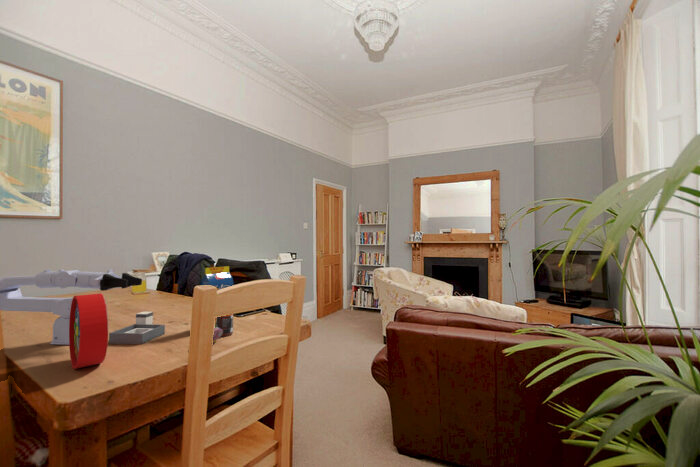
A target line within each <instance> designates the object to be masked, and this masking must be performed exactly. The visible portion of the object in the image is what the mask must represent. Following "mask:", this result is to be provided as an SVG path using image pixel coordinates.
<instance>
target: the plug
mask: <svg viewBox="0 0 700 467" xmlns="http://www.w3.org/2000/svg"><path fill="white" fill-rule="evenodd" d="M153 320H154V312H153V311H141V312H137V313H136V314H135V324H153Z"/></svg>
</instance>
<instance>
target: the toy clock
mask: <svg viewBox="0 0 700 467" xmlns="http://www.w3.org/2000/svg"><path fill="white" fill-rule="evenodd" d="M72 297H73V299H72V303H71V309H70V320H69V345H68V346H69V347H68V348H69V357H70V363H71V366H72V369H73V370H76V369H81V368H85V367H90V366H95V365H98V364H102V363H103V362H104V361H105V358H106V356H107V351H108V344H109V317H108V316H109V315H108V307H107V302H106V299H105V298H106V297H105V296H104V294H103V293H101V292H100V293H91V294H80V295H74V296H72Z"/></svg>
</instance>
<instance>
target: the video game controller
mask: <svg viewBox="0 0 700 467" xmlns="http://www.w3.org/2000/svg"><path fill="white" fill-rule="evenodd" d="M222 333H223V330H222V329H221V328H218V327H216V328H214V335H213V344H215V343H216V342H217V341H218V339H219V338H220V337H222V336H221V335H222ZM213 344H212V345H213Z"/></svg>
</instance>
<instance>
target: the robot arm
mask: <svg viewBox="0 0 700 467" xmlns="http://www.w3.org/2000/svg"><path fill="white" fill-rule="evenodd" d="M142 283H143V279H142V278H140V277H137V276H136V277H135V276H133V275H131V274H130V273H127V272H123V273H121V276H120V275H118V274H116V273H114V269H107V271H106V272H100V271H99V272H97V271H84V270H83V271H81V270H79V269H71V270H65V269H58V270H51V269H44V270H43V271H40V272H38V273H37V274H36V275H12V276H11V275H10V276H2V277H0V311H4V312H31V313H32V312H33V313H34V312H36V313H37V312H38V313H52V315H57V316H59V317H58V318H56V319H55V320H54V322H53V324H52V341H51V342H49V345H63V346H64V345H65V346H66V345H67V346H69V320H70V309H71V303H72V299H73V297H74V296H71V297H39V296H37V297H36V296H23V294H22V291H21V287H22V286H36V287H37V288H40V289H47V288H49V289H50V288H60V289H67V288H72V287H74V288H82V289H99V290H100V291H102V292H104V291H111V290H112V289H116V288H121V289H127V288H129V287H133V286H134V287H135V286H137V287H138V286H141V285H143V284H142Z"/></svg>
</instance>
